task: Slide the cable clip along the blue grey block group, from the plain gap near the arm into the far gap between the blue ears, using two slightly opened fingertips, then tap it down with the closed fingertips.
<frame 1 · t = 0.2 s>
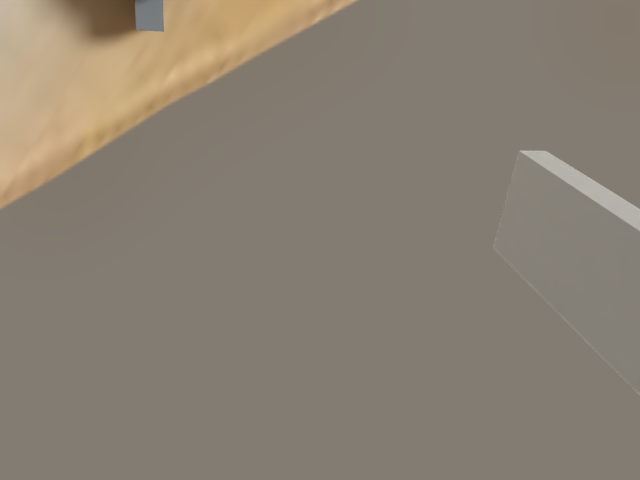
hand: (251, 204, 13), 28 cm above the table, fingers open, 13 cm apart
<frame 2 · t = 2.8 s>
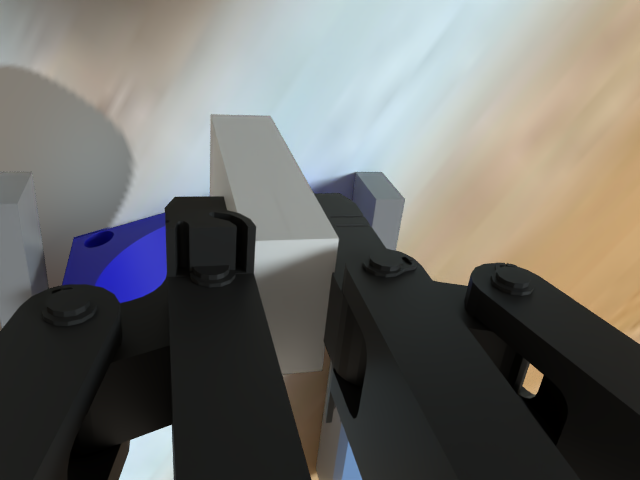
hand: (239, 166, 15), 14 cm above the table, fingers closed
blue grey block group: (203, 351, 35), on the table
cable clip: (201, 238, 32), resting in blue grey block group
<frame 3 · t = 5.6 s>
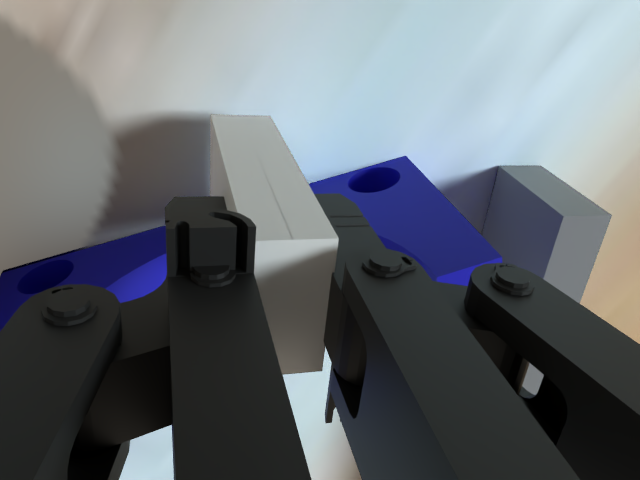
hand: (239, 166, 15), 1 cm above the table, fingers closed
blue grey block group: (234, 453, 22), on the table
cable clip: (230, 268, 18), resting in blue grey block group, touching gripper
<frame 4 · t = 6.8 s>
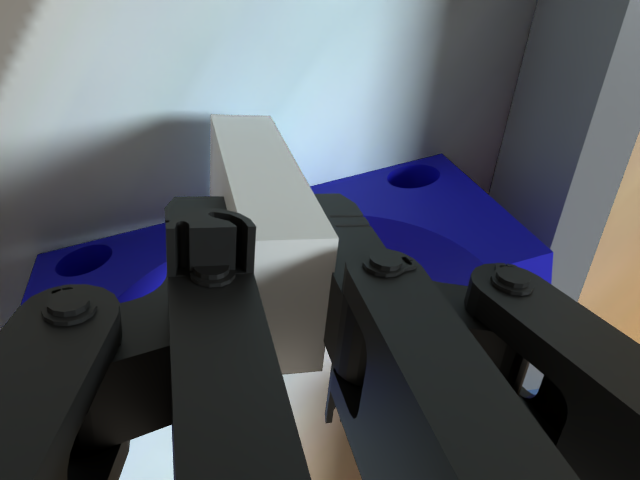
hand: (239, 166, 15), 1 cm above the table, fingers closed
blue grey block group: (235, 303, 19), on the table
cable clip: (262, 260, 18), resting in blue grey block group
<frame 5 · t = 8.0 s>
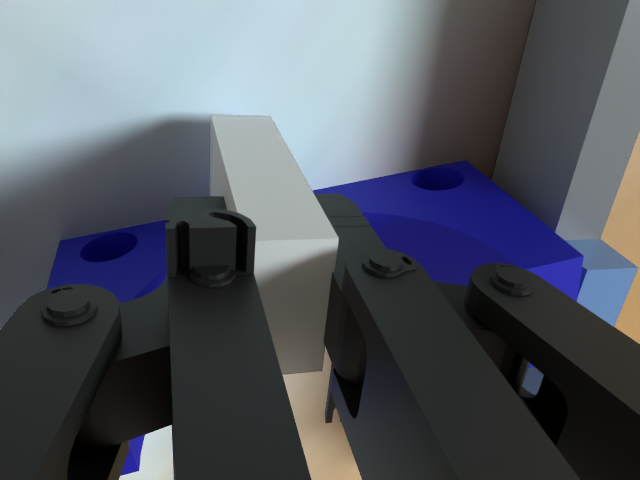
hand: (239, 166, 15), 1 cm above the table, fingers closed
blue grey block group: (237, 139, 16), on the table
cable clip: (282, 257, 19), resting in blue grey block group, touching gripper
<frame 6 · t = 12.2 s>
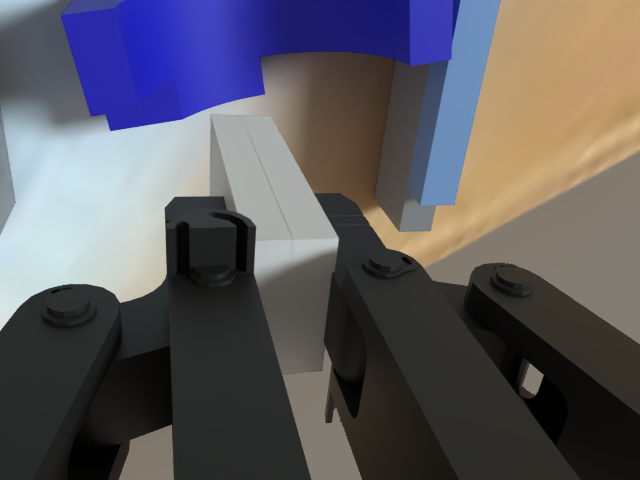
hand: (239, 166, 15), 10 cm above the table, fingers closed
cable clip: (250, 28, 24), resting in blue grey block group
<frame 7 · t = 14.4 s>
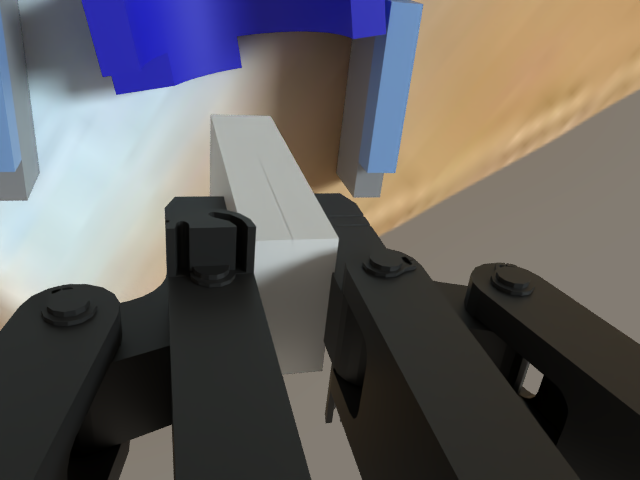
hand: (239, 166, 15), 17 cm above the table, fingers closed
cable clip: (230, 15, 30), resting in blue grey block group
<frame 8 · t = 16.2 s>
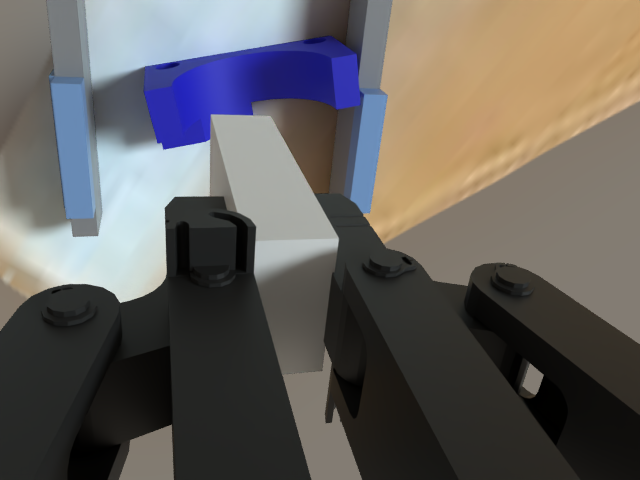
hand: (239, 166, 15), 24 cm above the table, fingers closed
blue grey block group: (223, 45, 37), on the table
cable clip: (245, 83, 39), resting in blue grey block group
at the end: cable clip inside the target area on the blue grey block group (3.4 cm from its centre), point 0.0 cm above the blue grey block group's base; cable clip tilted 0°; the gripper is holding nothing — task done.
